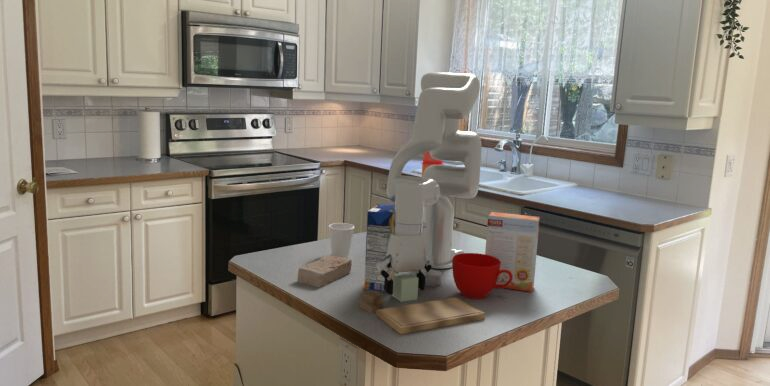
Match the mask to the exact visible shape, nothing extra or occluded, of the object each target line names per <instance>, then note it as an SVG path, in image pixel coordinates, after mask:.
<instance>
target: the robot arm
mask: <svg viewBox="0 0 770 386" xmlns="http://www.w3.org/2000/svg"><path fill="white" fill-rule="evenodd" d="M420 89H421V91H420V93H419V97H418V101H417V106H416V111H415V117H414V124H413V127H412V128H413V129H412V135H411V139H409V141H408V142H406V143H405V144H404V145H403V146H402V147H401V148H400V149H399V150H398V152H396V154H395V155H394V158H393V159H392V161H391V163H390V166H389V172H388V177H387V182H386V195H387V198H388V199H389V200H390V201H391V202H394V206H395V215H394V232H393V233H391V234H390V237H389V241H388V246H387V252H386V258H384V259H383V260H381V261H380V262H378V263H377V264H376V266H377V268H378V270H379V273H380V274H381V275H382V276H383V277H384V278H385V281H384V290H385V292H384V293H386V294H387V295H389V296H392V294H393V280H392V278H393V277H394V275H395V274H396V273H399V274H400V273H408V272H415V271H417V272H416V277H418V278H419V279H418V290H420V291H425V287H426V286H425V276H427V274H428V272H429V270H430V269H431V270H432V269H433V270H439V269H441V270H443V269H445V270H446V269H450V268H452V260H453V257H454V256H455V255H458V254H463V253H465V252H464V250H463V249H458V250H456V249H455V248H453V247H452V246H453V245H452V244H453V232H454V231H453V229H454V219H455V218H454V217H455V210H454V206H453V205H452V203H451V201H450V199H449V198H452V197H453V198H460V199H473V198H475V197H476V196H477V194H478V191H479V188H480V187H479V186H480V181H481V180H480V177H481V163H482V152H483V151H482V140H481V137H480V135H479V134H478V133H476V132H474V131H468V130H466V131H465V130H460V129H459V125H460V124H459V120H464V119H466V118H468V116H469V115H470V113H471V111H472V110H473V107H474V105H475V104H476V102H477V100H478V97H479V95H480V89H481V86H480V81H479V78H478V76H476V75H475V74H472V73H460V72H439V71H436V72H434V71H432V72H427V73H424V74H423V75H422V77H421V79H420ZM428 151H430V155H431V157H432V158H434V159H436V160H442V162H453V163H454V162H455V163H462V164H463V165H464V166H456V165H448V164H447V165H446V164H444V165H431V166H429V167H427V168H426V169H425V170H424V173H423V178H422V176H421V177H420V176H419V177H418V176H411V175H402V174H403V170H404V168H405V166H406V165H407V163H408V162H410V161H411V160H412V159H414V158H415V157H417V156H421V155H422V154H423V153H425V152H428ZM448 197H449V198H448ZM423 213H424V214H423ZM422 231H423V232H422ZM385 265H386V267H387V270H386V271H385V270H384V266H385ZM418 272H419V273H418Z"/></svg>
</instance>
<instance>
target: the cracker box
mask: <svg viewBox="0 0 770 386" xmlns="http://www.w3.org/2000/svg"><path fill="white" fill-rule="evenodd" d="M539 228H540V216H533V215H523V214H516V213H504V212H495V211H491V212H490V213H489V214H488V216H487V227H486V237H485V249H484V250H485V252H484V254H485V255H489V256H493V257H495V258H497V259H499V260H500V262H501V264H500V270H509V271H510V272H511V273H512V276H513V278H512V281H511V283H510V284H509V285H507V286H505V287H502V289H511V290H517V291H523V292H527V293H530V292H531V293H532V292H533V289H534V286H535V275H536V267H537V266H536V265H537V263H536V262H537V250H538V241H539V230H540V229H539ZM509 278H510V277H509V274H508V273H505V272H503V273H501V274H499V276H498V280H497V282H496V285H503V284H505V283H507V282H508V281H509Z"/></svg>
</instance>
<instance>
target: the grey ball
mask: <svg viewBox="0 0 770 386" xmlns="http://www.w3.org/2000/svg"><path fill="white" fill-rule="evenodd" d="M417 273H419V272H418V271H417ZM442 280H443V273H442V272H441V271H440V270H438V269H432V268H431V269H430V270H429V272H428V274H427V276H425V286H424V287H430V288H431V287H432V288H434V287H439V286H441V285H442Z"/></svg>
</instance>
